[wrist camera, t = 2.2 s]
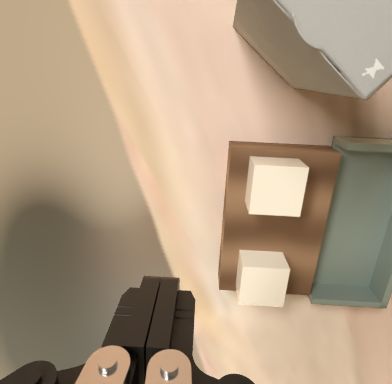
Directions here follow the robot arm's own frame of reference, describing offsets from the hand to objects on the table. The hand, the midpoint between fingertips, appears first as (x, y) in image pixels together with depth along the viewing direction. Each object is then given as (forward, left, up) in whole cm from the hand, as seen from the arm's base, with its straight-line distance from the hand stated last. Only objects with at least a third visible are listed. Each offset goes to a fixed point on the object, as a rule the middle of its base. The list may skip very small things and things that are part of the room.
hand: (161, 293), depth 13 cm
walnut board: (+5, +9, -20) cm, 22 cm away
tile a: (0, +8, -17) cm, 18 cm away
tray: (+5, +18, -20) cm, 27 cm away
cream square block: (+10, +8, -17) cm, 21 cm away
